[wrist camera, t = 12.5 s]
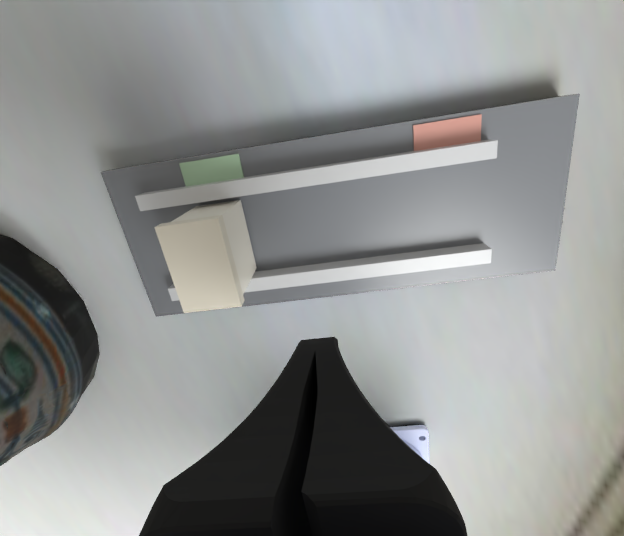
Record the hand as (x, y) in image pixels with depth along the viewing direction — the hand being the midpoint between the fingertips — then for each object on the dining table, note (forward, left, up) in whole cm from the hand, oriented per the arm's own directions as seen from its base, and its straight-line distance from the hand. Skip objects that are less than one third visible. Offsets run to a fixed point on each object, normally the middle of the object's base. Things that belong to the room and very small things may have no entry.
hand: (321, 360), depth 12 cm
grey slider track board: (+3, -1, -9) cm, 10 cm away
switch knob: (+3, +5, -8) cm, 10 cm away
